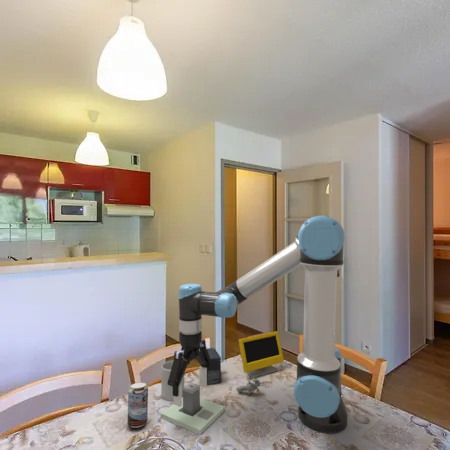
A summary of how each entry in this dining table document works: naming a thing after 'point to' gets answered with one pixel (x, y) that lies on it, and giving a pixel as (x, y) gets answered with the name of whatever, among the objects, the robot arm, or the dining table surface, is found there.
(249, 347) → the toy computer monitor
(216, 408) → the outlet plate
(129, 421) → the beverage can
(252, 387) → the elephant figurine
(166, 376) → the mug
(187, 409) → the block
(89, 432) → the dining table surface
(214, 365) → the small box
